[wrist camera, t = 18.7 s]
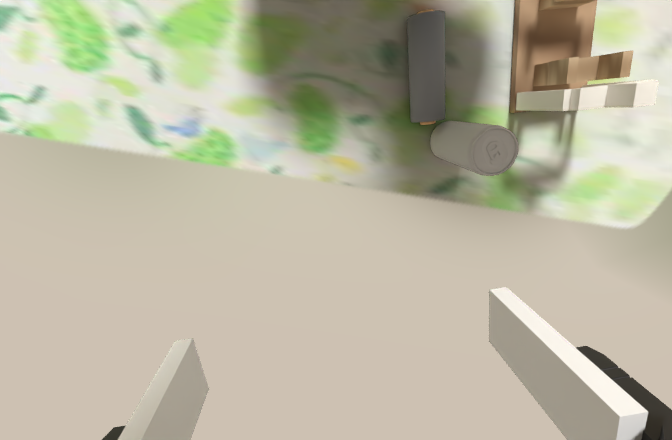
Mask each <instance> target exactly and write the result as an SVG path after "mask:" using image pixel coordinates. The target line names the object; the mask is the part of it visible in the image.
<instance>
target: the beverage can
mask: <svg viewBox="0 0 672 440" xmlns="http://www.w3.org/2000/svg"><path fill="white" fill-rule="evenodd" d="M430 146H431V150H432V152H433V154H434V155H435V156H437V157H438V158H440V159H443V160H445V161H448V162H450V163H453V164H455V165H458V166H460V167H463V168H465V169H468V170H470V171H473V172H475V173H478V174H480V175H486V176H494V175H499V174H501V173H503V172H505V171H506V170H507V169H509V168H510V167H511V166H512V164H513V163H514V161H515V159H516V158H517V154H518V141H517V138H516V137H515V135H514V134H513V133H512V132H511V131H510V130H508V129H506V128H504V127H502V126H499V125H490V124H479V123H469V122H459V121H445V122H443V123H440V124H439V125H438V126H437V127H436V128H435V129H434V130H433V133H432V135H431V139H430Z"/></svg>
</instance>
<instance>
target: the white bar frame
mask: <svg viewBox="0 0 672 440" xmlns="http://www.w3.org/2000/svg"><path fill="white" fill-rule="evenodd" d="M658 84H659V81H656V80H640V81H627V82H614V83H602V84H589V85H582V88H576V89H565V90H550V91H535V92H521V93H517V100H516V110H525V111H568V110H577V111H578V110H587V109H595V108H603V107H640V106H648V105H655V100H656V95H657V89H658Z"/></svg>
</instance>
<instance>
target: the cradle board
mask: <svg viewBox="0 0 672 440" xmlns="http://www.w3.org/2000/svg"><path fill="white" fill-rule="evenodd" d="M596 5H597V0H515V16H514V36H513V55H512V75H511V94H510V113H518V112H526V111H525V110H516V100H517V93H521V92H535V91H550V90H565V89H576V88H582V85H587V81H591V80H600V79H610V78H621V77H629V75H630V69H631V62H632V56H633V51H625V52H619V53H613V54H607V55H602V56H594V57H590V56H591V47H592V39H593V31H594V22H595V14H596Z"/></svg>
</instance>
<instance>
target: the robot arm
mask: <svg viewBox="0 0 672 440" xmlns="http://www.w3.org/2000/svg"><path fill="white" fill-rule="evenodd" d="M489 293H490V294H489V298H490V299H489V300H490V301H489V342H490V343H491V344H492V346H493V347H494V348H495V349H496V351H497V352H498V353H499V354H500V355H501V357H502V358H503V359H504V361H505V362H506V363H507V364H508V366H509V367H510V368H511V369H512V371H513V372H514V373H515V375H516V376H517V377H518V378H519V379H520V381H521V382H522V383H523V385H524V386H525V387H526V388H527V390H528V391H529V392H530V393H531V395H532V396H533V397H534V398H535V400H536V401H537V402H538V404H539V405H540V406H541V407H542V409H543V410H544V411H545V412H546V414H547V415H548V416H549V417H550V419H551V420H552V421H553V422H554V424H555V425H556V426H557V427H558V429H559V430H560V431H561V433H562V434H563V435H564V436H565V438H566V439H567V440H672V410H671V409H670V408H669V407H667V406H666V405H665V404H664V403H662V402H661V401H660V400H659V399H658V398H656V397H655V396H654V395H653V394H651V393H650V392H649V391H648V390H647V389H645V388H644V387H643V386H642V385H640V384H639V383H638V382H637V381H636V380H634V379H633V378H630V377H629V375H628V374H627V373H626V372H625V371H623V370H622V369H621V368H618V366H617V365H616V364H615V363H613V362H612V361H611V360H610V359H609V358H607V357H606V356H605V355H604V354H602V353H600V352H597V351H596V350H593V349H592V348H590V347H588V346H583V347H577V348H575V347H574V346H573V345H572V344H570V343H569V342H568V341H567V340H566V339H565V338H564V337H563V336H562V335H560V334H559V333H558V332H557V331H556V330H555V329H554V328H552V327H551V326H550V325H549V324H548V323H547V322H545V321H544V320H543V319H542V318H541V317H540V316H539V315H538V314H536V313H535V312H534V311H533V310H532V309H531V308H530V307H528V306H527V305H526V304H525V303H524V302H523V301H521V299H519V298H518V297H517V296H516V295H515V294H514V293H513V292H511V291H510V290H509V289H508V288H507V287H503V288H497V289H491V290H490V291H489ZM208 390H209V388H208V385H207V381H206V378H205V375H204V372H203V369H202V366H201V362H200V359H199V356H198V353H197V350H196V347H195V344H194V340H193V338H191V339H184V340H178V341H175V342H174V344H173V345H172V347H171V349H170V350H169V352H168V354H167V356H166V357H165V359H164V361H163V363H162V364H161V366H160V368H159V370H158V371H157V373H156V375H155V376H154V378H153V380H152V382H151V383H150V385H149V387H148V389H147V390H146V392H145V394H144V395H143V397H142V399H141V400H140V402H139V404H138V406H137V408H136V409H135V411H134V413H133V414H132V416H131V418H130V419H129V421H128V423H127V425H126V426H121V427H115V428H113V429H112V430H111V431H110V432H109V433H108V434H107V435H106V436H105V437H104V438H103V439H102V440H190V439H191V437H192V434H193V431H194V429H195V426H196V423H197V420H198V417H199V414H200V412H201V409H202V406H203V403H204V401H205V398H206V395H207V392H208Z"/></svg>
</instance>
